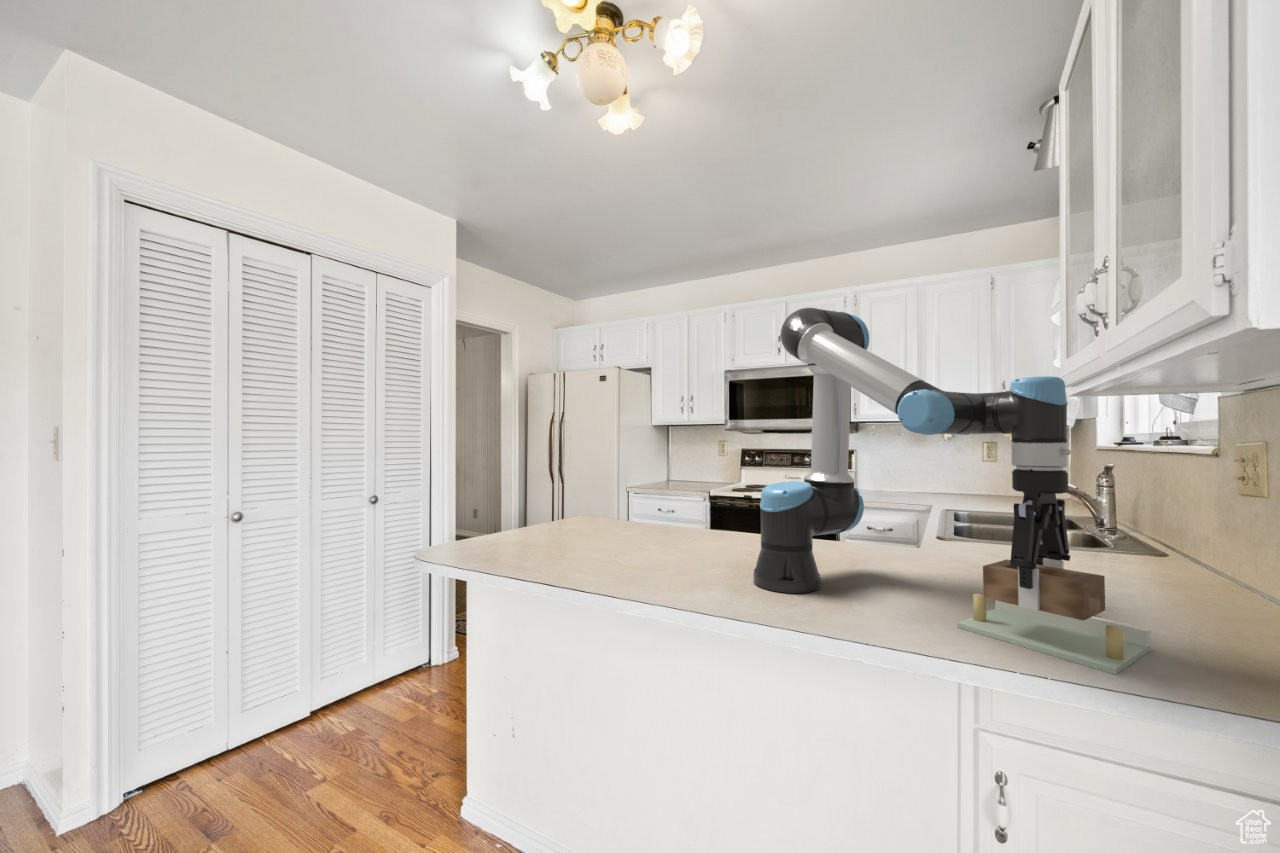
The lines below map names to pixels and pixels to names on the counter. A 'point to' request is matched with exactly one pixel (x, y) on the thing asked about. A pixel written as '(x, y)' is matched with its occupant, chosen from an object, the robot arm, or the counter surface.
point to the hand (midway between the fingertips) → (1041, 602)
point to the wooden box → (1049, 589)
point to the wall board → (1061, 634)
